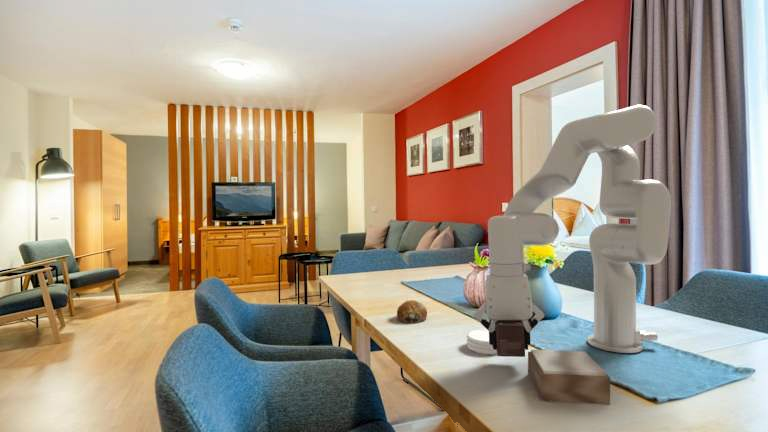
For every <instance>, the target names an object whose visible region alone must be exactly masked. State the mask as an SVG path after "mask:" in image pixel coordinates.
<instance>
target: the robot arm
mask: <svg viewBox="0 0 768 432" xmlns="http://www.w3.org/2000/svg"><path fill="white" fill-rule="evenodd" d="M657 123H658V121H657V116H656V114H655V112H654V110H652V108H650V107H648V106H647V105H643V104H636V105H632V106H627V107H624V108H620V109H616V110H612V111H608V112H604V113H601V114H596V115H593V116H592V115H591V116H588V117H584V118H579V119H576V120H573V121H570V122H568V123H566V124H565V125H564V126H562V128H561V129H560V131H559V133H558V134H557V136H556V138H555V141H554V143H553V144H552V147H551V149H550V150H549V152H548V154H547V156H546V158H545V160H544V162H543V164H542V166H541V168H540V170H539V171H538V172H537V173H536V174H534V175H533V176H532V177H531V178H530V179H529V180H528V181H527V182H526V183H525V184H524V185H523V186H522V187H521V188H519V189H518V190H517V192H516V193H515V194H514V195H513V196H512V197H511V199H510V201H509V203H508V205H507V207H506V209H505V211H504V213H503V215H495V216H491V217H490V218H489V219H488V221H487V235H488V237H487V238H488V239H487V240H488V255H489V256H488V258H489V259H488V260H489V262H488V264H489V265H488V266H489V274H486V276H485V283H484V302H483V304H481V305H480V307H479V308H477V309H476V310H475V312H474V313H473V317H474V319H476V320H477V321H478V322H479V323H480V324H481V325H482V326H483V327H484V328H485V330H488V331H489V344H490V345H492V346H493V349H494V350H496V349H497V340H496V331H495V326H496V323H497V321H515V320H521V321H522V322H523V324H524V340H525V351H528V350H529V346H530V345H532V344H531V332H532V331H533V329H535V328H536V327H537V325H538V324H539V322H540V321H541V320H543V318H544V317H545V313H544V312H543V311H542V310H541V309H540V308H539V307H538V306H537V305H535V304H534V303H533V302H532V294H531V293H532V292H531V288H530V287H531V286H530V282H529V277H528V275H527V274H526V272H527V271H531V269H532V267H531V263H526V262H525V259H524V247H525V246H537V247H541V246H542V247H543V246H547V245H550V244H551V243H553V242H554V241H555V240H556V239H557V237H558V235H559V232H560V226H559V223H558V221H557V220H556V219H555V217H553V216H552V215H550V214H547V213H544V212H542V213H541V212H536V210H537V209H538V208H539V207H541V205H543V204H544V203H545V202H547V201H548V200H550V199H552V198H554V197H557V196H559V195H561V194H563V193H565V192H567V191H568V190H570V189H571V188H573V187H574V186H575V184H577V181H578V180H579V179H578V178H579V177H580V175H581V173H582V170H583V168H584V165H585V164H586V162H587V161H588V158H589V156H590V155H591V154H593V153H595V154H597V155H598V158H599V160H600V162H601V178H600V180H601V181H600V190H599V192H600V193H599V210H600V212H601V213H602V215H604V216H605V217H607V218H611V219H612V218H613V219H629V220H631V219H632V220H634V219H635V220H636V224H633V223H632V224H631V223H615V222H613V223H603V224H600V225H598V226H596V227H595V228H594V229H592V231H591V233H590V235H589V239H588V240H589V243H588V244H589V250H590V253H591V254H590V255H591V259H592V266H593V267H592V268H593V333H591V334H589V335H588V336H587V340H586V341H587V343H588V344H589V345H591V346H592V347H594V348H597V349H599V350H603V351H607V352H612V353H619V354H620V353H621V354H637V353H640V352H642V351H643V350H644V343H643V342H644V341H651V342H652V341H654V342H655V341H658V334H657V333H656V332H647V331H646V330H639V329H638V328H637V278H636V274H635V271H634V270H633V267H632V266H631V264H638V265H647V266H649V265H656V264H659V263H661V261H662V260H663V259H664V258H665V255H666V254H667V251H668V244H669V235H670V227H671V226H670V224H671V215H672V214H671V212H672V198H671V194H670V191H669V189H668V187H667V185H665V184H664V183H663V182H661V181H659V180H656V179H640V176H641V175H640V171H641V169H640V168H641V164H640V163H641V162H640V159H639V156H638V155H637V153H636V152H635V151H634V150H633V148H632V147H631V145H634V144H637V143H641V142H644V141H645V140H646V141H647V139H649V138H650V137H651V136H652V135H653V134H654V133H655V131H656V129H657ZM630 263H631V264H630ZM484 313H485V314H486V317H487V319H489V320H487V319H486V318H484V316H483V315H484ZM533 313H535V315H533Z"/></svg>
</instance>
